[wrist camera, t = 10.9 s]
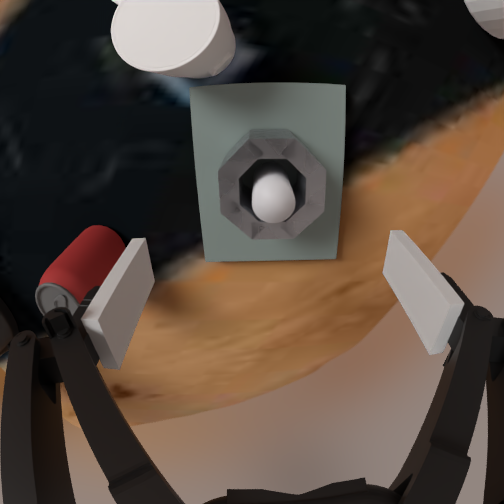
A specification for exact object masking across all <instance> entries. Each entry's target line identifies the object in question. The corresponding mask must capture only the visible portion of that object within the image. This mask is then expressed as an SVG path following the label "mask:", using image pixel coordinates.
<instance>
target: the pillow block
mask: <svg viewBox="0 0 504 504" xmlns="http://www.w3.org/2000/svg"><path fill="white" fill-rule="evenodd" d="M189 89H190V104H191V119H192V132H193V145H194V157H195V168H196V179H197V189H198V199H199V209H200V218H201V227H202V236H203V244H204V253H205V261H206V262H219V261H271V260H315V259H336V254H337V245H338V235H339V224H340V213H341V200H342V185H343V168H344V147H345V110H346V85H336V84H319V83H239V84H222V85H209V86H198V87H189ZM250 129H288V130H289V131H290V132H292V133H293V134H294V135H295V136H296V137H297V138H298V139H299V140H300V141H301V142H302V143H303V144H304V145H305V146H306V147H307V148H308V149H309V150H310V151H311V152H312V153H313V154H314V156H315V157H316V158H317V159H318V160H319V162H320V163H321V164H322V165H323V167H324V168H325V169H326V189H325V206H324V212H323V213H322V214H321V215H320V216H319V217H318V218H316V219H315V220H314V221H313V222H312V223H311V224H310V225H309V226H307V227H306V228H305V229H304V230H303V231H302V232H301V233H300V234H298V235H297V236H296V237H295V238H294V239H258V240H252V239H251V238H249V237H248V236H247V235H246V234H245V233H244V232H242V231H241V230H240V229H239V228H238V227H237V226H235V225H234V224H233V223H232V222H231V221H229V220H228V219H227V218H226V217H225V216H224V215H222V214H221V212H220V198H219V184H218V170H219V168H220V166H221V164H222V162H223V160H224V158H225V155H226V154H227V153H228V152H229V151H230V150H231V149H232V148H233V147H234V146H235V145H236V144H237V143H238V142H239V141H240V140H241V139H242V138H243V137H244V136H245V135H246V133H247V132H248V131H249V130H250ZM296 182H297V168H296V167H295V166H294V165H293V164H292V163H291V162H290V161H288V160H287V159H257V160H256V161H255V162H254V163H253V164H252V166H251V167H250V168H249V169H248V170H247V171H246V172H245V173H244V174H243V183H244V184H245V185H247V186H248V187H249V188H250V189H251V190H252V191H253V192H252V208H253V211H254V213H255V214H256V216H257V217H258V218H260V219H261V220H263V221H265V222H268V223H279V222H282V221H284V220H286V219H287V218H289V217H290V216H291V214H292V213H293V211H294V209H295V197H294V194H293V190H292V186H293V185H294V184H295V183H296Z"/></svg>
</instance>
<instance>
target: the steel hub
mask: <svg viewBox="0 0 504 504" xmlns="http://www.w3.org/2000/svg"><path fill="white" fill-rule="evenodd" d="M257 159H287V160H288V161H290V162H291V163H292V164H293V165H294V166H295V167H296V168H297V182H296V183H295V184H294V185H293V186H292V190H293V194H294V197H295V209H294V211H293V213H292V214H291V216H290V217H289V218H287V219H286V220H284V221H282V222H279V223H268V222H265V221H263V220H261V219H260V218H258V217H257V216H256V214H255V213H254V211H253V208H252V192H253V191H252V190H251V189H250V188H249V187H248V186H247V185H245V184H244V183H243V174H244V173H245V172H246V171H247V170H248V169H249V168H250V167H251V166H252V164H253V163H254V162H255V161H256V160H257ZM218 184H219V198H220V212H221V214H222V215H224V216H225V217H226V218H227V219H228V220H229V221H231V222H232V223H233V224H234V225H235V226H237V227H238V228H239V229H240V230H241V231H242V232H244V233H245V234H246V235H247V236H248V237H249V238H251V239H252V240H258V239H294V238H295V237H296V236H297V235H298V234H300V233H301V232H302V231H303V230H304V229H305V228H306V227H307V226H309V225H310V224H311V223H312V222H313V221H314V220H315V219H316V218H318V217H319V216H320V215H321V214H322V213H323V212H324V206H325V189H326V169H325V168H324V167H323V165H322V164H321V163H320V162H319V160H318V159H317V158H316V157H315V156H314V154H313V153H312V152H311V151H310V150H309V149H308V148H307V147H306V146H305V145H304V144H303V143H302V142H301V141H300V140H299V139H298V138H297V137H296V136H295V135H294V134H293V133H292V132H290V131H289V130H288V129H250V130H249V131H248V132H247V133H246V135H245V136H244V137H243V138H242V139H241V140H240V141H239V142H238V143H237V144H236V145H235V146H234V147H233V148H232V149H231V150H230V151H229V152H228V153H227V154H226V155H225V158H224V160H223V162H222V164H221V166H220V168H219V170H218Z"/></svg>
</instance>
